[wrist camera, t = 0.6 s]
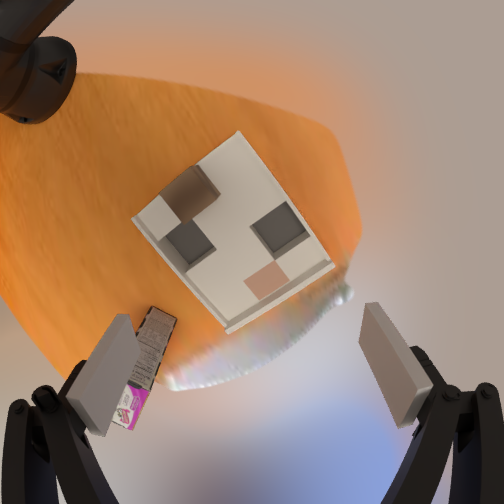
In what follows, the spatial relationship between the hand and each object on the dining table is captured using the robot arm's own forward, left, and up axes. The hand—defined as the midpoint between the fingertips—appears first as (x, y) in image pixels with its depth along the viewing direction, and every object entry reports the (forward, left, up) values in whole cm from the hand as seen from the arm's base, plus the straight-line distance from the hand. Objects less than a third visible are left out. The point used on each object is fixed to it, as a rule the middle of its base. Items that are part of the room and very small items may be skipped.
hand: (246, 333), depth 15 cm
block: (-8, -3, -21) cm, 23 cm away
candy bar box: (+6, -24, -25) cm, 35 cm away
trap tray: (0, -3, -24) cm, 25 cm away
